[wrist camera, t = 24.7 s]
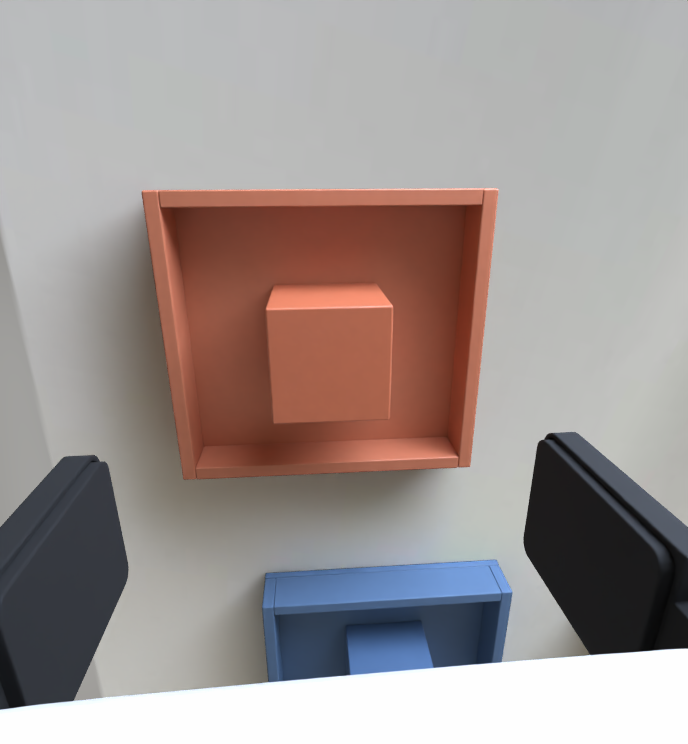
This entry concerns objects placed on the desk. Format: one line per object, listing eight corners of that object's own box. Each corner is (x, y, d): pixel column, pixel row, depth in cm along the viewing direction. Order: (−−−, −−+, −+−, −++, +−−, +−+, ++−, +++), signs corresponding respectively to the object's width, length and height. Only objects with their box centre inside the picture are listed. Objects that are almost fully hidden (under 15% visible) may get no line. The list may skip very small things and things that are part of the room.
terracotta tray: (194, 453, 24) (183, 480, 22) (159, 190, 19) (140, 190, 17) (455, 442, 25) (470, 467, 22) (478, 188, 20) (499, 188, 18)
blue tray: (277, 720, 31) (275, 761, 29) (265, 572, 27) (261, 607, 25) (476, 704, 32) (489, 743, 30) (496, 559, 28) (513, 591, 25)
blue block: (345, 679, 30) (352, 759, 26) (345, 625, 28) (352, 701, 24) (417, 674, 30) (435, 752, 26) (421, 620, 28) (441, 694, 24)
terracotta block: (278, 381, 22) (272, 425, 18) (273, 284, 21) (264, 308, 17) (374, 377, 23) (390, 420, 18) (376, 282, 21) (393, 305, 17)
